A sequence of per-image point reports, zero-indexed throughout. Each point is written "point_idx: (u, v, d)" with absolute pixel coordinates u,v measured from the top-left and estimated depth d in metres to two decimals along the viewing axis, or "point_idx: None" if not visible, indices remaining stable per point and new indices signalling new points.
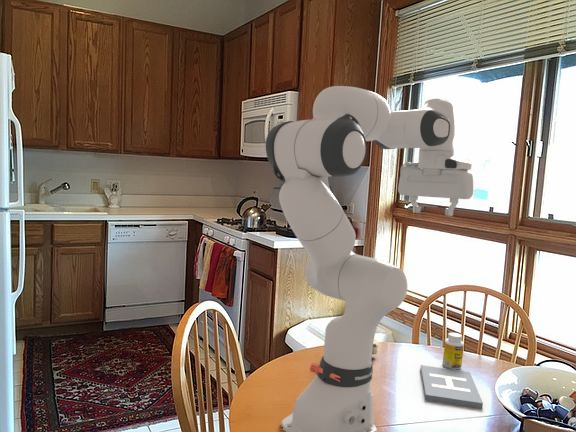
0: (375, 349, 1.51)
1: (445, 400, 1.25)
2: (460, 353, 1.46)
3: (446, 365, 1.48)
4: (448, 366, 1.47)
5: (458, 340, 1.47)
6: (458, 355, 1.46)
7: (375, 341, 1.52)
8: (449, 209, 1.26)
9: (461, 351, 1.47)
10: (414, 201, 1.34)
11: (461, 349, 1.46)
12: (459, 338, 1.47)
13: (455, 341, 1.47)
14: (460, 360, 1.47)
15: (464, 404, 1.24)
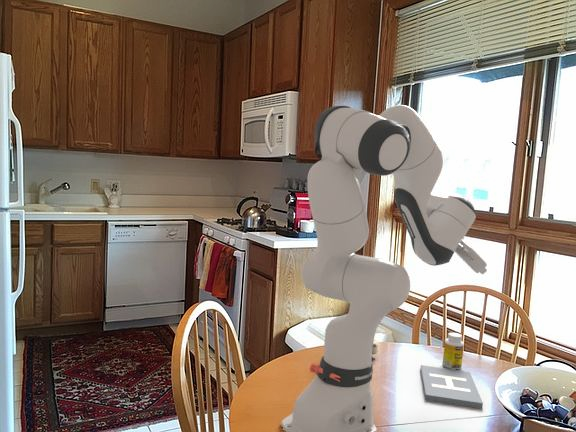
0: (375, 349, 1.51)
1: (445, 400, 1.25)
2: (460, 353, 1.46)
3: (446, 365, 1.48)
4: (448, 366, 1.47)
5: (458, 340, 1.47)
6: (458, 355, 1.46)
7: (375, 341, 1.52)
8: None
9: (461, 351, 1.47)
10: None
11: (461, 349, 1.46)
12: (459, 338, 1.47)
13: (455, 341, 1.47)
14: (460, 360, 1.47)
15: (464, 404, 1.24)
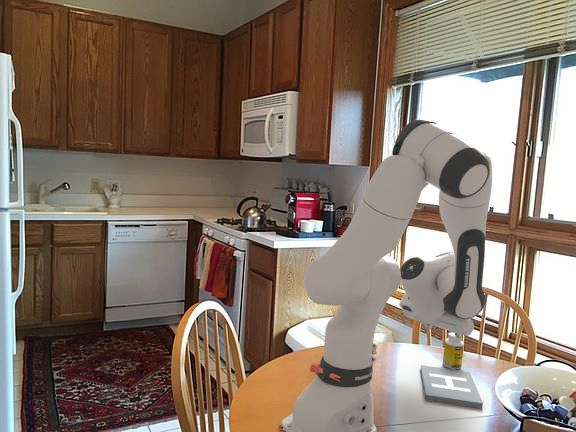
0: (374, 349, 1.51)
1: (445, 400, 1.25)
2: (460, 353, 1.46)
3: (446, 365, 1.48)
4: (448, 366, 1.47)
5: (458, 340, 1.47)
6: (458, 355, 1.46)
7: (374, 341, 1.52)
8: None
9: (461, 351, 1.47)
10: None
11: (461, 349, 1.46)
12: (459, 338, 1.47)
13: (455, 341, 1.47)
14: (460, 360, 1.47)
15: (464, 404, 1.24)
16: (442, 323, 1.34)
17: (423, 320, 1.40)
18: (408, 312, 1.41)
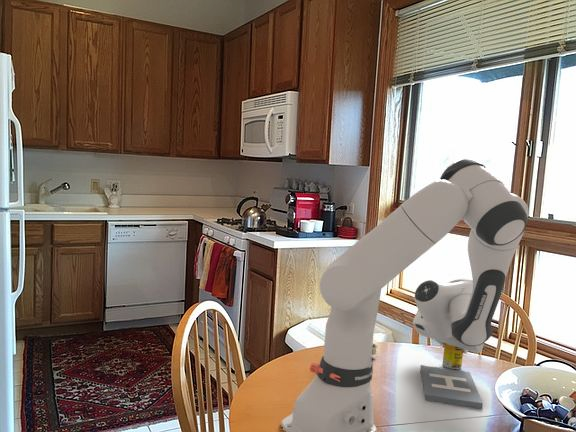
0: (374, 349, 1.51)
1: (445, 400, 1.25)
2: (460, 353, 1.46)
3: (446, 365, 1.48)
4: (448, 366, 1.47)
5: None
6: (458, 355, 1.46)
7: (374, 341, 1.52)
8: None
9: (461, 351, 1.47)
10: None
11: None
12: None
13: None
14: (460, 360, 1.47)
15: (464, 404, 1.24)
16: (453, 341, 1.42)
17: (435, 337, 1.48)
18: (420, 330, 1.49)
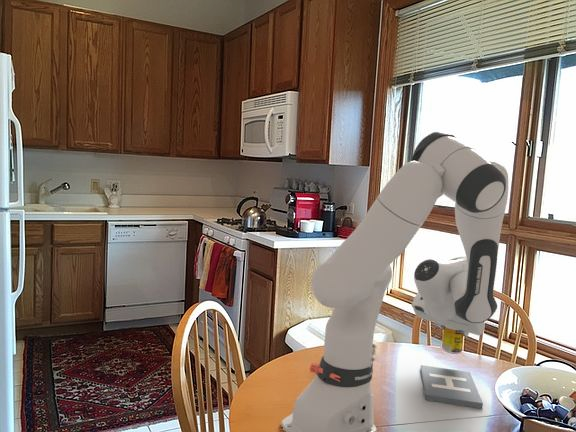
0: (373, 349, 1.51)
1: (445, 400, 1.25)
2: (460, 337, 1.43)
3: (446, 349, 1.44)
4: (448, 350, 1.43)
5: None
6: (458, 339, 1.42)
7: (374, 341, 1.52)
8: None
9: (461, 335, 1.43)
10: None
11: None
12: None
13: None
14: (460, 344, 1.43)
15: (464, 404, 1.24)
16: (454, 323, 1.38)
17: (434, 320, 1.44)
18: (420, 312, 1.45)
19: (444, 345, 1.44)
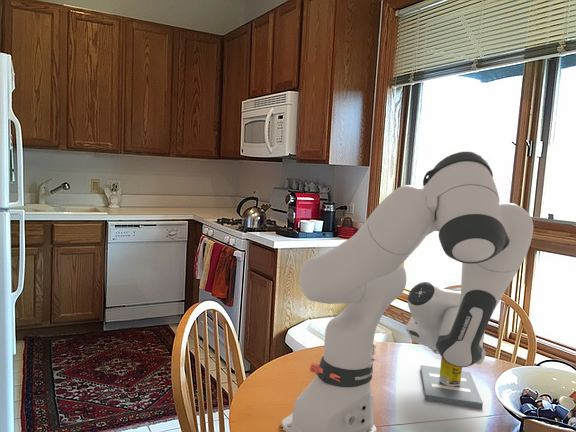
0: (373, 349, 1.51)
1: (445, 400, 1.25)
2: (459, 367, 1.31)
3: (443, 381, 1.32)
4: (445, 382, 1.31)
5: None
6: (456, 370, 1.30)
7: None
8: None
9: None
10: None
11: None
12: None
13: None
14: (459, 376, 1.31)
15: (464, 404, 1.24)
16: None
17: (431, 345, 1.32)
18: (415, 337, 1.34)
19: (441, 376, 1.33)
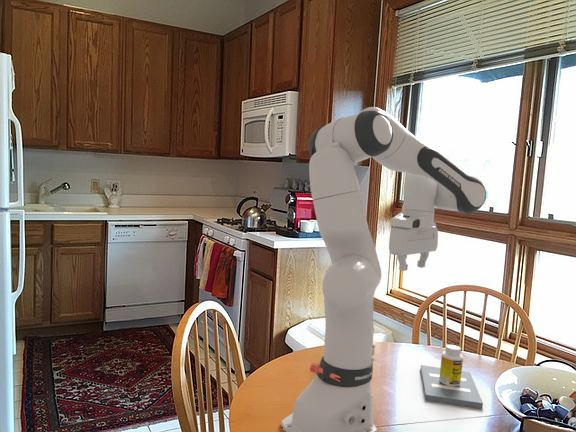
0: (372, 349, 1.51)
1: (445, 400, 1.25)
2: (459, 367, 1.31)
3: (443, 381, 1.32)
4: (445, 382, 1.31)
5: (456, 353, 1.31)
6: (456, 370, 1.31)
7: None
8: None
9: (460, 366, 1.31)
10: (423, 256, 1.40)
11: (460, 364, 1.31)
12: (458, 351, 1.31)
13: (453, 355, 1.31)
14: (459, 376, 1.31)
15: (464, 404, 1.24)
16: (425, 241, 1.36)
17: (412, 248, 1.32)
18: (405, 241, 1.29)
19: (441, 376, 1.33)
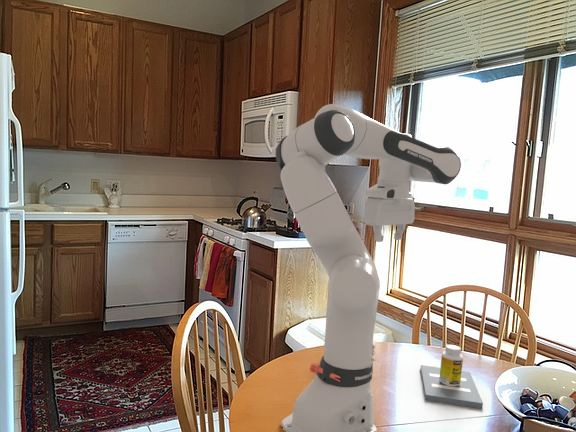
0: (372, 349, 1.51)
1: (445, 400, 1.25)
2: (459, 367, 1.31)
3: (443, 381, 1.32)
4: (445, 382, 1.31)
5: (457, 353, 1.31)
6: (456, 370, 1.31)
7: None
8: None
9: (460, 366, 1.31)
10: (399, 228, 1.40)
11: (460, 364, 1.31)
12: (458, 351, 1.31)
13: (453, 355, 1.31)
14: (459, 376, 1.31)
15: (464, 404, 1.24)
16: (401, 213, 1.36)
17: (388, 219, 1.32)
18: (380, 211, 1.29)
19: (441, 376, 1.33)
